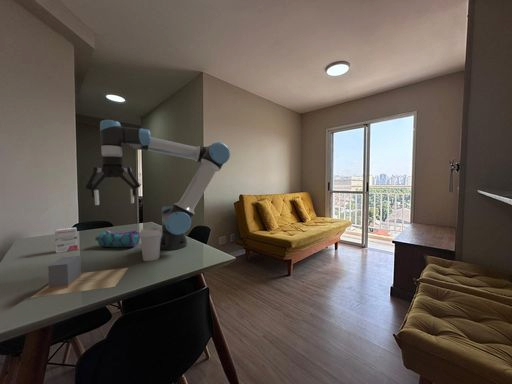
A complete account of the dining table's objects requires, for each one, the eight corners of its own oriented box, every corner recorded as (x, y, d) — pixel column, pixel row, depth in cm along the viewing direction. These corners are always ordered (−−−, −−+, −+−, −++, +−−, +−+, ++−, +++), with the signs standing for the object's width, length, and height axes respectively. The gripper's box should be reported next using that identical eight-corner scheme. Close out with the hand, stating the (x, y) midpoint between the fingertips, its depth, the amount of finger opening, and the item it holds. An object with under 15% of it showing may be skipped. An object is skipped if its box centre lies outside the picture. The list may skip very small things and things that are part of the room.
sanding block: (63, 278, 74) (62, 257, 73) (80, 277, 75) (79, 255, 75) (49, 290, 66) (48, 265, 66) (68, 287, 68) (67, 264, 67)
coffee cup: (163, 263, 93) (162, 230, 92) (139, 267, 88) (138, 232, 87) (161, 256, 101) (161, 226, 100) (139, 259, 96) (138, 228, 96)
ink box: (77, 247, 114) (76, 226, 114) (77, 249, 111) (76, 228, 110) (56, 251, 109) (55, 229, 108) (55, 253, 105) (54, 230, 104)
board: (128, 271, 84) (128, 267, 84) (114, 291, 68) (114, 286, 68) (61, 279, 77) (61, 275, 77) (30, 302, 62) (30, 297, 62)
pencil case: (95, 248, 113) (94, 231, 112) (107, 244, 121) (106, 228, 121) (131, 249, 112) (131, 232, 111) (141, 244, 121) (141, 228, 120)
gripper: (145, 157, 99) (147, 201, 100) (81, 157, 90) (85, 204, 91) (142, 156, 92) (145, 203, 93) (73, 155, 83) (77, 206, 84)
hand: (115, 204), depth 92 cm, fingers open, 13 cm apart
